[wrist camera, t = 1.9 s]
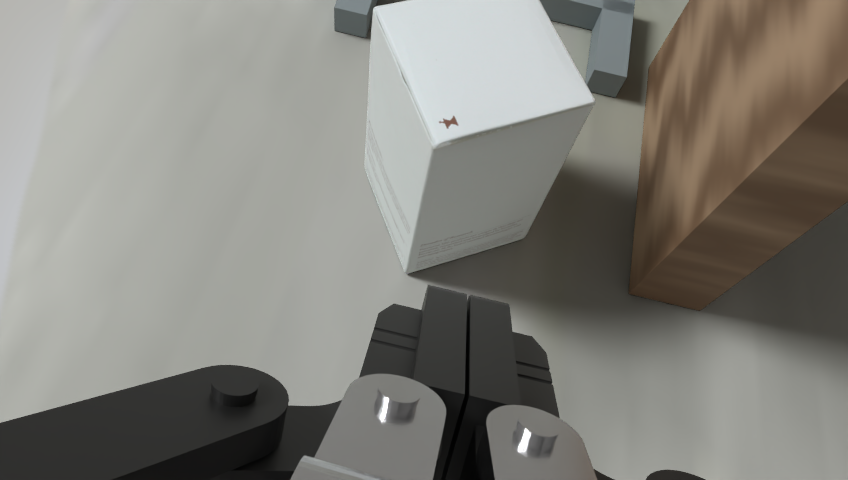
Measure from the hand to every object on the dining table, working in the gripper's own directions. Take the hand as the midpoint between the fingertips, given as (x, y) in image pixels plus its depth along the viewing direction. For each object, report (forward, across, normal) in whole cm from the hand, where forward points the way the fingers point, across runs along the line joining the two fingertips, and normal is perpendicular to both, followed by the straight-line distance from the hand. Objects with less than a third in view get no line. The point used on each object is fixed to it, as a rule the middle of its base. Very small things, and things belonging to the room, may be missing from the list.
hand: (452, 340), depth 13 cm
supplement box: (+27, 0, +5) cm, 28 cm away
